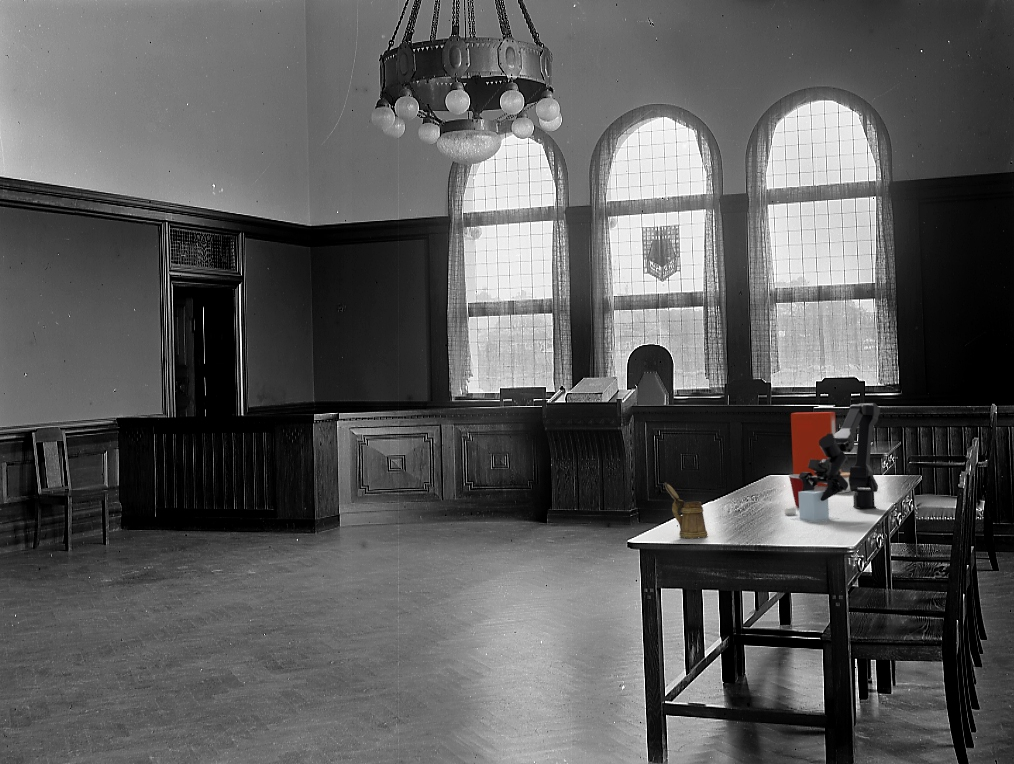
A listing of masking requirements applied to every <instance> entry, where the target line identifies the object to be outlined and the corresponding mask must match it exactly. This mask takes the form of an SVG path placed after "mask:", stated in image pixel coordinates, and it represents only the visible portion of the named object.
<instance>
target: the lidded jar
mask: <svg viewBox="0 0 1014 764" xmlns="http://www.w3.org/2000/svg"><path fill="white" fill-rule="evenodd" d="M840 472H841V474H840V475H842V476H843V478H844V479H845V480H846V481H847V482H848V487H847V489H846V491H844V490H843V491H842V492H839V493H838V494H844V493H843V492H848V493H850V492H851V490H850V485H849V476H850V471H849V472H844V471H842V469H840Z"/></svg>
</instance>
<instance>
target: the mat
mask: <svg viewBox="0 0 1014 764" xmlns="http://www.w3.org/2000/svg"><path fill="white" fill-rule="evenodd" d="M839 519H840V517H833V516H832V517H831V516H829V519H823V520H816V521H812V520H805V519H800V516H799V517H793V518H791V520H793V521H800V522H801V521H802V522H807V523H808V522H809V523H820V522H826V521H832V520H839Z"/></svg>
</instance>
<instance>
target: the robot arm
mask: <svg viewBox="0 0 1014 764" xmlns="http://www.w3.org/2000/svg"><path fill="white" fill-rule="evenodd" d="M880 413H881V409H880V406H878V405H877V404H876V403H875V402H868V403H867V402H866V403H863V402H862V403H860V402H859V403H857V404H855V403H854V404H850V406H849V410H848V413H847V415H846V417H845V420H844V422H843V424H842V426H841V428H840V429H839V431H836V433H835V434H834V435H833V433H827V436H824V437H822V438H821V439H820V440H819V445H820V447H821V449H822V451H823V452H824V454H825V456H827V457H828V458H827V459H823V460H816V459H810V461H809V465H808V468H809V469H812V470H814V473H815V474H816V475H817V477H816V476H813V475H812V473H811V472H801V473H800V475H799V478H800V479H801V481H802V482H803V489H802V491H809V490H816V489H815V488H816V487H817V486H816V485H817V483H824V484H827V486H826V487H825V489H824V490H823V491H824V493H823V495H822V497H821V501H824V500H826V499H828V500H829V498H831V497H833V496H835V495H837V494H840V493H839V492H842V491H843V490H844V491H846V489H847V487H848V482H847V481H846V480H845V479H844V478H843V476H842V475H840V474H841V472H842V471H841V472H840V470H842V467H843V465H845V464H847V465H849V459H848V456H847V455H846V454H845V453H851V452H852V451H853V450H854V446H855V439H854V436H855V433H856V432H857V429H858V435H857V448H856V459H855V464H854V465H853V466H850V469H849V473H850V476H849V485H850V492H854V495H852V496H853V508H855V507H856V509H858V508H860V509H859V510H862V509H861V508H868V509H877V508H876V507H877V506H876V505H875V504H876V503H875V493H876V492H877V493H878V489H879V484H878V483H877V480H876V479H875V477H874V471H873V469H872V468H871V465H870V463H871V462H870V461H871V451H872V439H873V428H874V427H875V425H876V424H877V422H878V420H879V416H880Z"/></svg>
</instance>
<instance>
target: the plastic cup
mask: <svg viewBox="0 0 1014 764" xmlns="http://www.w3.org/2000/svg"><path fill="white" fill-rule="evenodd" d="M816 477H817V476H816ZM788 478H789V481H790V486H791V491H792V496H793V499H794V504H795V507H796V506H798V507H797V508H799V493H798V492H802V489H803V482H802V481H801V479H800V478H799V474H794V475H793V474H788Z"/></svg>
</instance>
